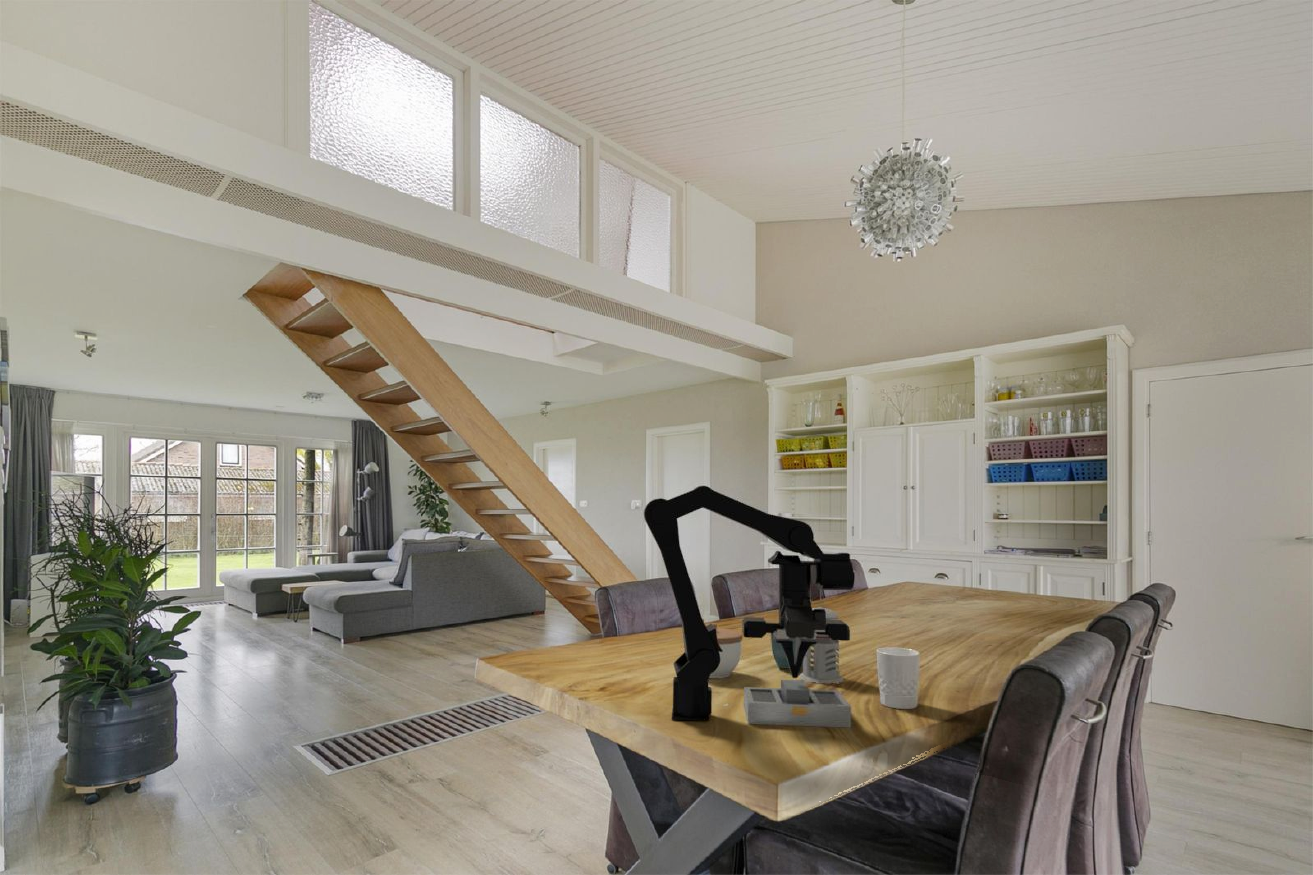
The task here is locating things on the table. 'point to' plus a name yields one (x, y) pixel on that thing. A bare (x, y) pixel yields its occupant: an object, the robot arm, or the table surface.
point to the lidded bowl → (727, 651)
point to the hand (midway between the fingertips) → (794, 677)
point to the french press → (822, 657)
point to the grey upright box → (794, 691)
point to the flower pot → (781, 653)
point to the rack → (796, 708)
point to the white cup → (898, 677)
